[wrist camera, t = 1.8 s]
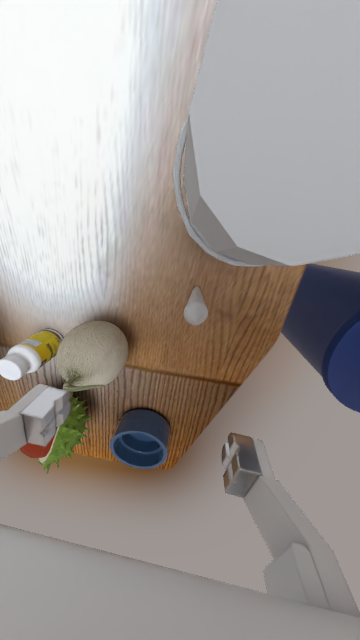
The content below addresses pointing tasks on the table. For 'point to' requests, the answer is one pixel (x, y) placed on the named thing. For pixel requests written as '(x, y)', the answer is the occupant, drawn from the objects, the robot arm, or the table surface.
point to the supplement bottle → (30, 354)
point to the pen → (195, 308)
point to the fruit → (91, 355)
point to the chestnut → (61, 437)
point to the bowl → (141, 439)
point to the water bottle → (275, 134)
